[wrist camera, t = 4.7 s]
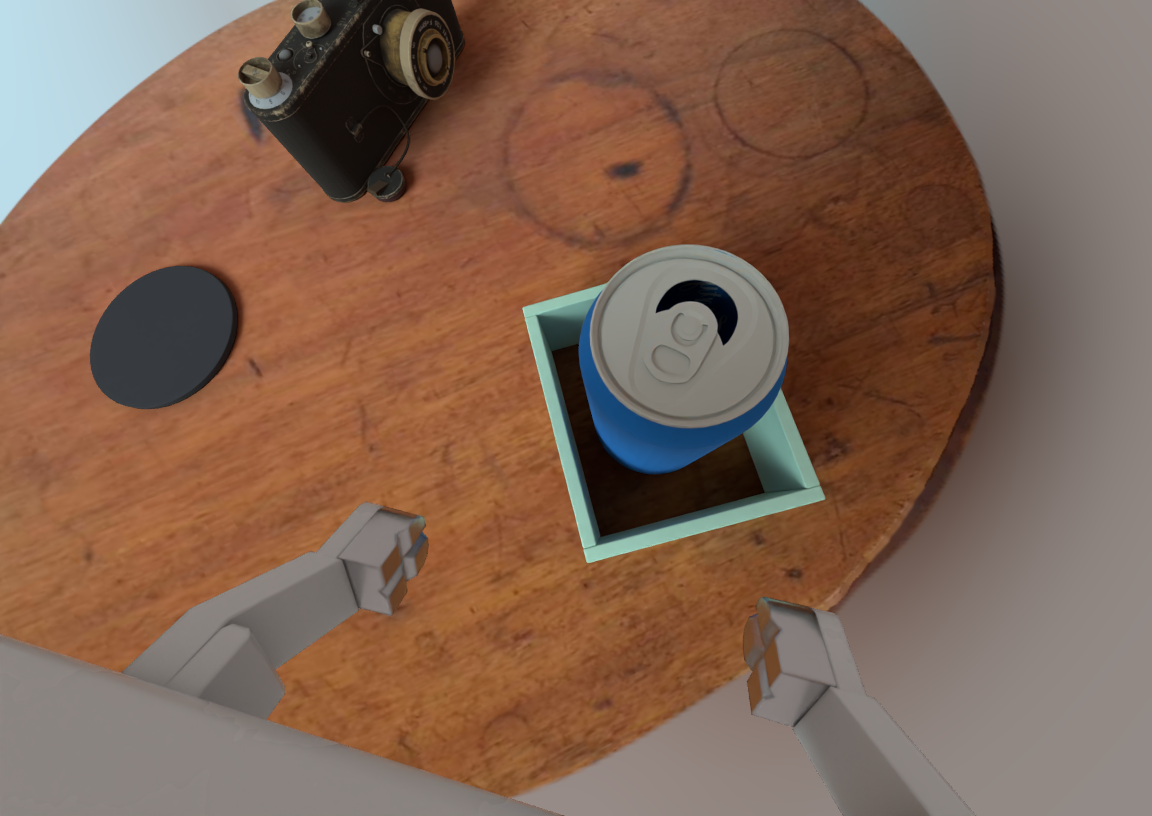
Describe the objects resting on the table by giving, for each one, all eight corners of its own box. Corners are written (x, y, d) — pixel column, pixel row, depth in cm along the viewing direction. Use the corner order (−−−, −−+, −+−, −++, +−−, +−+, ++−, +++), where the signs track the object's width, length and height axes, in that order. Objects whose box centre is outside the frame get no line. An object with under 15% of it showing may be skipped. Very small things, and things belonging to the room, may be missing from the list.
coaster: (242, 385, 26) (236, 383, 26) (94, 427, 27) (86, 426, 26) (234, 251, 29) (228, 248, 28) (98, 291, 29) (92, 288, 29)
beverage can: (730, 396, 23) (844, 287, 12) (675, 497, 22) (742, 488, 11) (629, 344, 25) (642, 200, 13) (573, 438, 24) (533, 372, 12)
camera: (387, 224, 28) (302, 116, 20) (312, 191, 29) (204, 78, 22) (505, 46, 31) (469, -108, 23) (431, 23, 32) (373, -130, 24)
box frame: (779, 501, 22) (826, 499, 17) (592, 551, 22) (586, 563, 17) (703, 299, 25) (725, 248, 20) (539, 345, 25) (522, 306, 20)
